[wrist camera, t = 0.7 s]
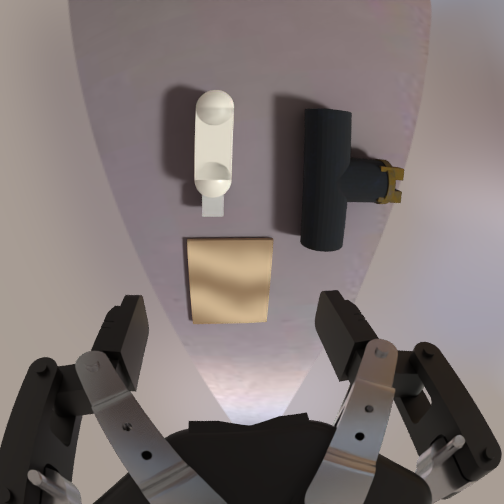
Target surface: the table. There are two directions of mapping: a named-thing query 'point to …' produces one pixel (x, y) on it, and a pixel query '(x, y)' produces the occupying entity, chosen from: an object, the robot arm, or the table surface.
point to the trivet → (229, 279)
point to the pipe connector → (338, 179)
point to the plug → (213, 149)
